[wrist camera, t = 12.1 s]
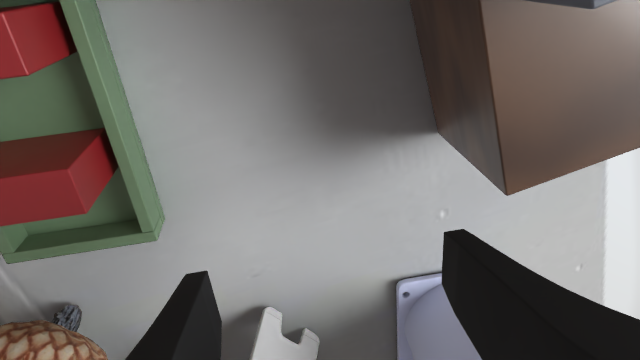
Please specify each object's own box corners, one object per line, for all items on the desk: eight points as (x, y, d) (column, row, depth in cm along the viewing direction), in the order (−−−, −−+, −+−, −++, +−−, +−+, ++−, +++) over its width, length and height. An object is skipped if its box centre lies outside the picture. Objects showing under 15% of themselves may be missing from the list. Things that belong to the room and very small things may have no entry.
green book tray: (165, 218, 23) (157, 241, 21) (27, 239, 22) (6, 264, 20) (56, -123, 16) (29, -135, 14) (-151, -104, 15) (-207, -114, 13)
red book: (119, 165, 20) (87, 214, 16) (13, 181, 20) (-48, 234, 16) (106, 127, 19) (68, 168, 16) (-7, 142, 19) (-75, 188, 15)
